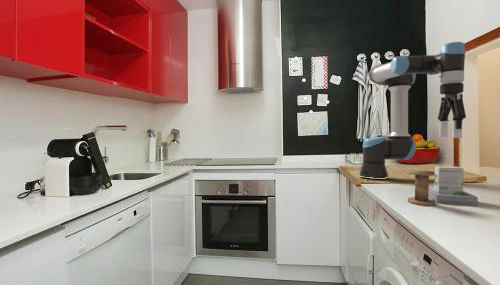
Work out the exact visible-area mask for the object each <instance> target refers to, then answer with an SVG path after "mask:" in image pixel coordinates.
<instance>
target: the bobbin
mask: <svg viewBox="0 0 500 285" xmlns="http://www.w3.org/2000/svg"><path fill="white" fill-rule="evenodd" d="M409 174H410V175H413V176H415V177H414V181H415V182H414V196H412V197H411V196H410V197H408V198H407V203H409V204H412V205H416V206H417V205H418V206H424V207H432V206H433V207H434V206H436V204H437V203H436V201H434V200H432V199H431V198H429V197H428V191H429V188H430V186H429V183H430V177H431V176H432V177H433V176H435V171H432V170H427V169H410V170H409Z"/></svg>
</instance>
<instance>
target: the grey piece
mask: <svg viewBox="0 0 500 285" xmlns="http://www.w3.org/2000/svg"><path fill="white" fill-rule="evenodd" d="M428 199H432V200H434V201H436V203H435V204H444V205H445V204H448V205H465V206H478V204H479V201H478V199H479V197H478V196H476V195H475V194H471V193H469V192H468V191H465V189H463V196H461V195H443V194H439V193H437V192H435V191H434V189H432V188H430V187H429V191H428Z"/></svg>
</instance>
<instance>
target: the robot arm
mask: <svg viewBox="0 0 500 285" xmlns="http://www.w3.org/2000/svg"><path fill="white" fill-rule="evenodd" d="M465 46H466V45H465V43H464V42H462V41H452V42H448V43H445V44H443V45H442V46H441V47H440V48H441V49H440V53H439V54H432V55H431V54H430V55H429V54H428V55H400V56H394V57H393V58H392V59H391V61H390V62H387V63H383V64H381V63H380V64H377V65H374V66H372V68H370V70H369V72H368V78H369V80H370V81H371V82H372V83H374V84H376V85H378V86H379V85H380V86H387V89H388V90H389V91H390V134H388V135H387V138H386V136H376V137H375V136H374V137H368V138H364V139H363V142H362V165H361V167H360V171H359V175H360V176H364V177H373V178H385V177H388V178H389V173H388V170H387V167H386V160H388V161H389V160H392V161H393V160H396V161H397V160H399V161H403V160H405V161H407V160H410V159H412V158H413V156H414V155H415V153H416V149H417V145H416V141H415V140H414V139H412V135H411V134H409V90H410V89H411V88H412V85H413V84H414V83H415V82H416V78H417V75H418V74H420V75H421V74H426V75H428V76H432V75H433V76H434V75H439V74H440V75H439V76H438V77H439V79H440V82H439V83H440V86H439V94H441V95H444V97H443V96H441V98H440V99H441V100H440V106H439V111H438V116H437V120H438V121H439V137H440V138H445V137H446V138H447V137H448V135H449V134H448V131H449V129H448V128H449V115H450V113H452V116H453V117H452V139H462V138H463V121H464V119H466V117H467V115H466V110H465V105H464V99H463V97H464V96H463V93H464V82H465V64H466V63H465V59H466V48H465Z"/></svg>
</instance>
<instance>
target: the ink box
mask: <svg viewBox="0 0 500 285" xmlns="http://www.w3.org/2000/svg"><path fill="white" fill-rule="evenodd" d="M464 170H465V169H464V168H463V167H456V166H435V167H434V172H435V175H434V187H433V188H434V189H433V190H434V191H435V192H437V193H439V194H443V195H461V196H463V190H464V174H465V173H464Z"/></svg>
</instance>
